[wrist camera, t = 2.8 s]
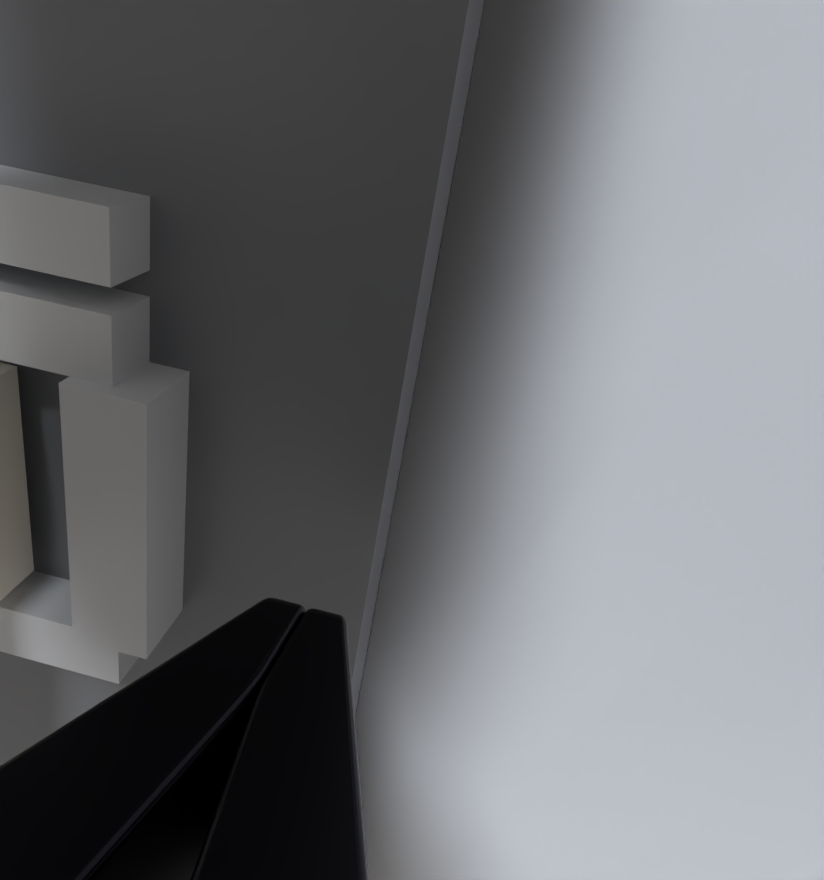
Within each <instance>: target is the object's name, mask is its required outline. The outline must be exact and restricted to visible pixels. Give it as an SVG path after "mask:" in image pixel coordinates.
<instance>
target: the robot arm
mask: <svg viewBox="0 0 824 880" xmlns="http://www.w3.org/2000/svg"><path fill="white" fill-rule="evenodd" d="M0 880H368V868H367V856H366V844H365V832H364V820H363V809H362V797H361V785H360V773H359V761H358V749H357V738H356V726H355V714H354V702H353V690H352V678H351V667H350V655H349V643H348V631H347V622H346V619H345V618H344V617H343V616H342V615H339V614H335V613H331V612H327V611H323V610H319V609H316V608H311V609H308V610H307V611H306V610H305V608H304V607H303V606H302V605H300V604H296V603H292V602H288V601H285V600H281V599H277V598H266V599H263V600H262V601H260V602H258V603H257V604H255V605H254V606H252V607H250V608H249V609H247V610H246V611H244V612H243V613H241V614H239V615H238V616H236V617H235V618H233V619H231V620H230V621H228V622H227V623H225V624H224V625H222V626H220V627H219V628H217V629H216V630H214V631H212V632H211V633H209V634H208V635H206V636H205V637H203V638H201V639H200V640H198V641H197V642H195V643H193V644H192V645H190V646H189V647H187V648H186V649H184V650H182V651H181V652H179V653H178V654H176V655H174V656H173V657H171V658H170V659H168V660H167V661H165V662H163V663H162V664H160V665H159V666H157V667H155V668H154V669H152V670H151V671H149V672H148V673H146V674H144V675H143V676H141V677H140V678H138V679H136V680H135V681H133V682H132V683H130V684H129V685H127V686H125V687H124V688H122V689H121V690H119V691H117V692H116V693H114V694H113V695H111V696H110V697H108V698H106V699H105V700H103V701H102V702H100V703H98V704H97V705H95V706H94V707H92V708H91V709H89V710H87V711H86V712H84V713H83V714H81V715H79V716H78V717H76V718H75V719H73V720H72V721H70V722H68V723H67V724H65V725H64V726H62V727H60V728H59V729H57V730H56V731H54V732H53V733H51V734H49V735H48V736H46V737H45V738H43V739H41V740H40V741H38V742H37V743H35V744H34V745H32V746H30V747H29V748H27V749H26V750H24V751H22V752H21V753H19V754H18V755H16V756H15V757H13V758H11V759H10V760H8V761H7V762H5V763H3V764H2V765H0Z"/></svg>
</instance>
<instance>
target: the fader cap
mask: <svg viewBox="0 0 824 880" xmlns="http://www.w3.org/2000/svg"><path fill="white" fill-rule="evenodd" d="M33 571H34V563H33V551H32V539H31V527H30V515H29V503H28V491H27V479H26V467H25V455H24V444H23V432H22V420H21V408H20V396H19V384H18V372H17V366H13V365H9V364H5V363H1V362H0V601H1V600H2V599H3V598H4V597H5V596H6V595H8V594H9V593H10V592H11V591H12V590H13V589H14V588H15V587H16V586H17V585H18V584H20V583H21V582H22V581H23V580H24V579H25V578H26V577H27V576H28V575H29V574H31V573H32V572H33Z"/></svg>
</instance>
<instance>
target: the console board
mask: <svg viewBox="0 0 824 880" xmlns="http://www.w3.org/2000/svg"><path fill="white" fill-rule="evenodd" d="M484 1H485V0H0V362H1V363H5V364H9V365H13V366H17V372H18V384H19V396H20V408H21V420H22V432H23V444H24V455H25V467H26V479H27V491H28V503H29V515H30V527H31V539H32V551H33V563H34V571H33V572H32V573H31V574H29V575H28V576H27V577H26V578H25V579H24V580H23V581H22V582H21V583H20V584H18V585H17V586H16V587H15V588H14V589H13V590H12V591H11V592H10V593H9V594H8V595H6V596H5V597H4V598H3V599H2V600H1V601H0V765H2V764H3V763H5V762H7V761H8V760H10V759H11V758H13V757H15V756H16V755H18V754H19V753H21V752H22V751H24V750H26V749H27V748H29V747H30V746H32V745H34V744H35V743H37V742H38V741H40V740H41V739H43V738H45V737H46V736H48V735H49V734H51V733H53V732H54V731H56V730H57V729H59V728H60V727H62V726H64V725H65V724H67V723H68V722H70V721H72V720H73V719H75V718H76V717H78V716H79V715H81V714H83V713H84V712H86V711H87V710H89V709H91V708H92V707H94V706H95V705H97V704H98V703H100V702H102V701H103V700H105V699H106V698H108V697H110V696H111V695H113V694H114V693H116V692H117V691H119V690H121V689H122V688H124V687H125V686H127V685H129V684H130V683H132V682H133V681H135V680H136V679H138V678H140V677H141V676H143V675H144V674H146V673H148V672H149V671H151V670H152V669H154V668H155V667H157V666H159V665H160V664H162V663H163V662H165V661H167V660H168V659H170V658H171V657H173V656H174V655H176V654H178V653H179V652H181V651H182V650H184V649H186V648H187V647H189V646H190V645H192V644H193V643H195V642H197V641H198V640H200V639H201V638H203V637H205V636H206V635H208V634H209V633H211V632H212V631H214V630H216V629H217V628H219V627H220V626H222V625H224V624H225V623H227V622H228V621H230V620H231V619H233V618H235V617H236V616H238V615H239V614H241V613H243V612H244V611H246V610H247V609H249V608H250V607H252V606H254V605H255V604H257V603H258V602H260V601H262V600H263V599H266V598H277V599H281V600H285V601H288V602H292V603H296V604H300V605H302V606H303V607H304V608H305V610H306V611H307V610H308V609H311V608H316V609H319V610H323V611H327V612H331V613H335V614H339V615H342V616H343V617H344V618H345V619H346V622H347V631H348V643H349V655H350V667H351V678H352V690H353V702H354V714H355V715H356V709H357V704H358V698H359V693H360V687H361V682H362V676H363V671H364V665H365V660H366V654H367V648H368V643H369V637H370V632H371V626H372V621H373V615H374V610H375V604H376V599H377V593H378V588H379V582H380V577H381V571H382V565H383V560H384V554H385V549H386V543H387V538H388V532H389V527H390V521H391V516H392V510H393V505H394V499H395V493H396V488H397V482H398V477H399V471H400V466H401V460H402V455H403V449H404V444H405V438H406V433H407V427H408V422H409V416H410V410H411V405H412V399H413V394H414V388H415V383H416V377H417V372H418V366H419V361H420V355H421V350H422V344H423V338H424V333H425V327H426V322H427V316H428V311H429V305H430V300H431V294H432V289H433V283H434V278H435V272H436V267H437V261H438V255H439V250H440V244H441V239H442V233H443V228H444V222H445V217H446V211H447V206H448V200H449V195H450V189H451V183H452V178H453V172H454V167H455V161H456V156H457V150H458V145H459V139H460V134H461V128H462V123H463V117H464V111H465V106H466V100H467V95H468V89H469V84H470V78H471V73H472V67H473V62H474V56H475V51H476V45H477V40H478V34H479V28H480V23H481V17H482V12H483V6H484Z"/></svg>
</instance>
